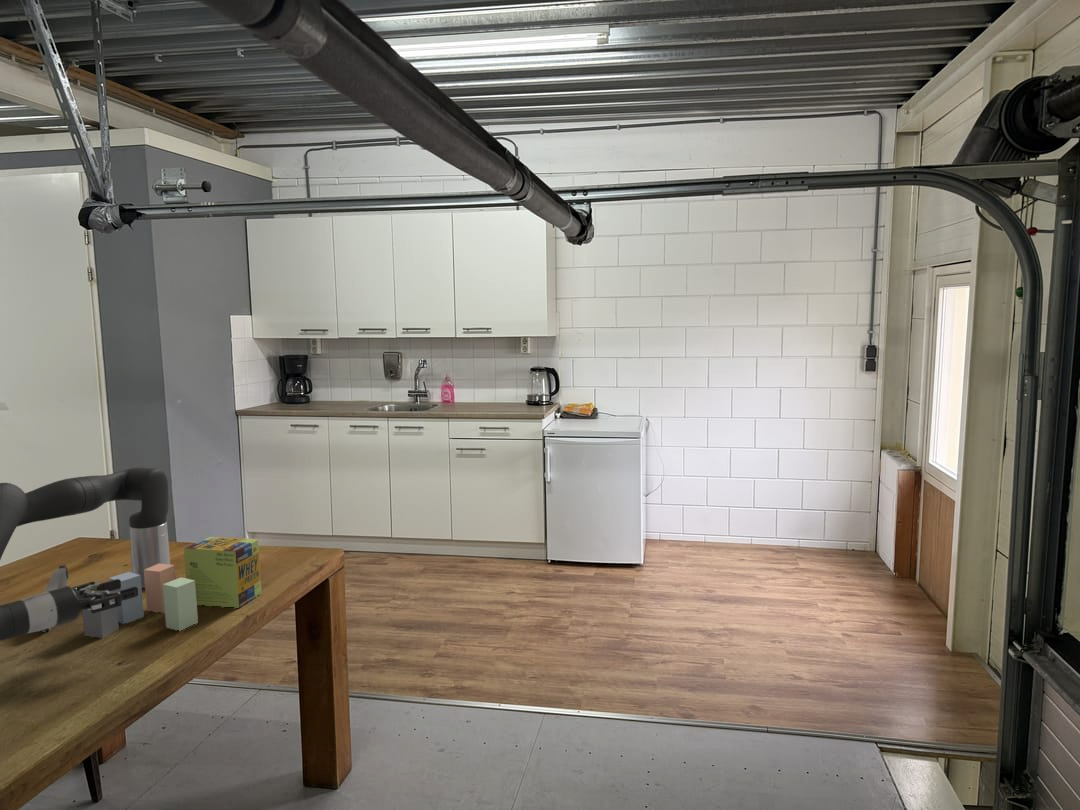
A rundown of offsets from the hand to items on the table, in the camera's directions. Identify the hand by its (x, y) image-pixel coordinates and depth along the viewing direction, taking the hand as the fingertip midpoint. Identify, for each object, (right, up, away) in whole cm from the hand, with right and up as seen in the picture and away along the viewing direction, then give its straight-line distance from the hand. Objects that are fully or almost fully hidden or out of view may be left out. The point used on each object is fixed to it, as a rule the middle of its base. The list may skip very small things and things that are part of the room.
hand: (128, 587), depth 164 cm
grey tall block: (-11, -13, +7) cm, 18 cm away
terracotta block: (-4, -11, +21) cm, 24 cm away
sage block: (+7, -12, +11) cm, 18 cm away
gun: (-29, -12, +17) cm, 36 cm away
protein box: (+10, -10, +27) cm, 31 cm away
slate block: (-9, -12, +15) cm, 21 cm away
